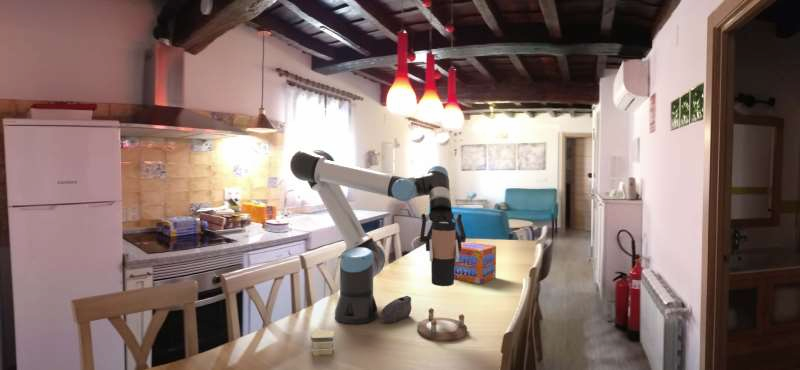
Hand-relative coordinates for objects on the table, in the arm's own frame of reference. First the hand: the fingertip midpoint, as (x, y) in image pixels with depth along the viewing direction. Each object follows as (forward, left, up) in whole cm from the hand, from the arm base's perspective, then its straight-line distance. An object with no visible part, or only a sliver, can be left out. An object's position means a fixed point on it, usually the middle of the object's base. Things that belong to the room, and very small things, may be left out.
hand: (444, 259), depth 130 cm
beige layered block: (-37, +8, -25) cm, 45 cm away
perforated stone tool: (-6, +19, -25) cm, 32 cm away
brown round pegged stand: (+2, +3, -24) cm, 25 cm away
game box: (+53, +48, -25) cm, 75 cm away
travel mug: (+2, +3, -9) cm, 9 cm away
